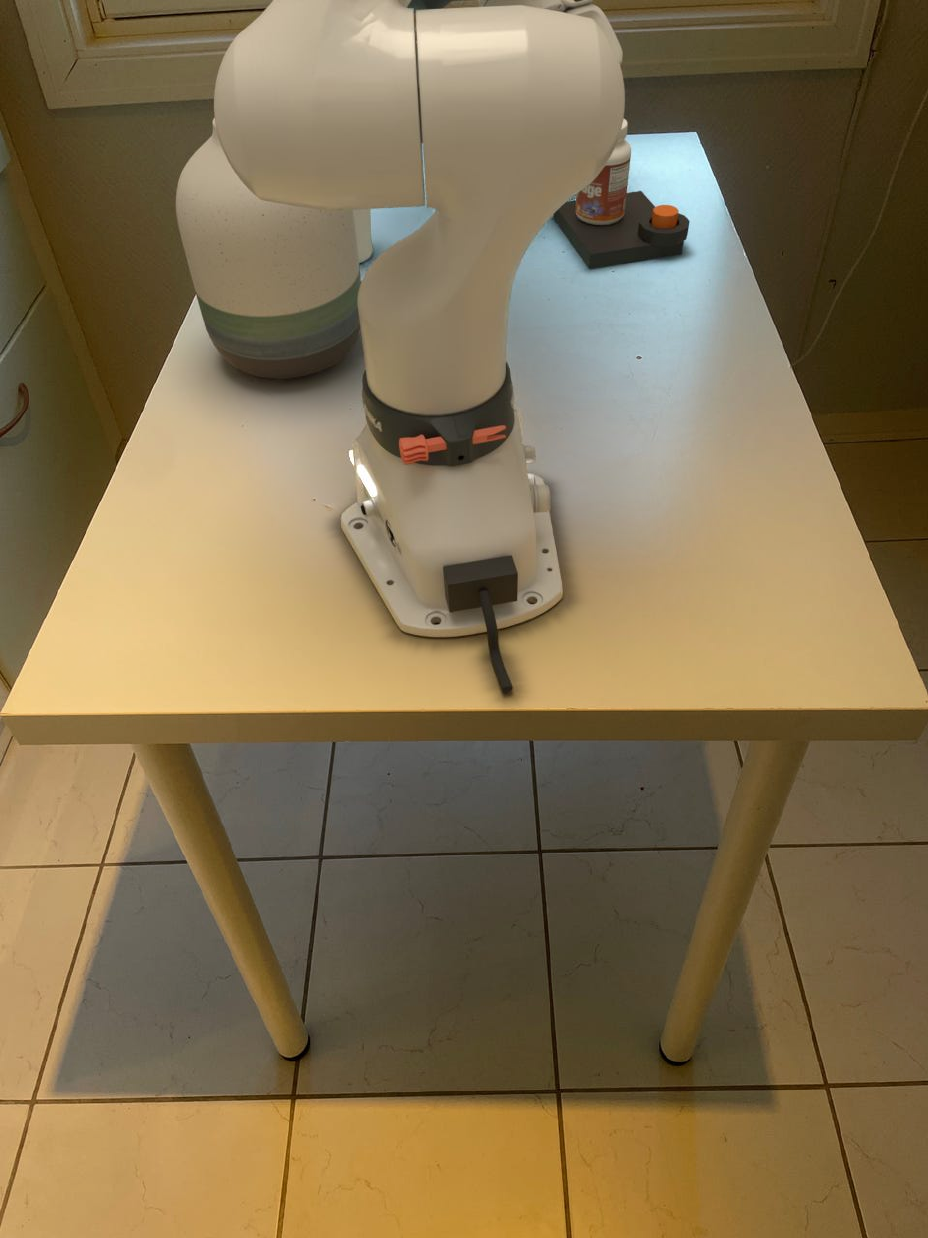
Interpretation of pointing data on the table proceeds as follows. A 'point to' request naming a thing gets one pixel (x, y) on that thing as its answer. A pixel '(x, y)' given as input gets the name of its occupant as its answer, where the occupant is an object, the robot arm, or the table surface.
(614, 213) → the pill bottle
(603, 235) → the scale
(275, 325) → the vase
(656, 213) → the button
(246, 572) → the table surface
